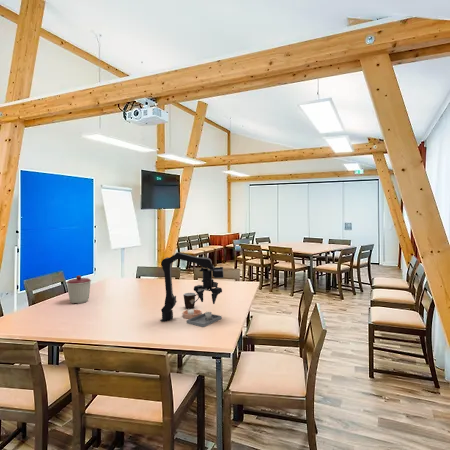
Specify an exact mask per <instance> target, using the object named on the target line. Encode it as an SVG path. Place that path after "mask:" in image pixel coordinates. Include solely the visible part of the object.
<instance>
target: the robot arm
mask: <svg viewBox="0 0 450 450" xmlns="http://www.w3.org/2000/svg"><path fill="white" fill-rule="evenodd" d="M177 260H180V261H186V262H189V263H193V264H196V265H198V266H200V267H201V268H200V269H199V272H202V279H201V283H202V284H197V285H195V286H193V291H194V293H195V294H197V297H198V296H199V300H200V302H201V303H203V302H204V292H205V291H207V292H211V293H210V294H211V301H212V304H213V305H215V303H216V300H217V298H218V295H219V294H221V293H223V289H222V287H220V286H219V287H218V284H219V282H215V281H214V279H224V277H225V276H224V275H225V273H224V271H225V270H224V267H223V266H220V267H219V266H215V265H214V264H213V263H212V262H213V261H212V259H211V258H209V257H201V256H200V257H197V256H195V255H190V254H186V253H183V252H181V251H180V252H179V251H178V252H176V253H175V254H173V255H172V256H169V257H165V258H162V260H161V263H160V264H161V268H162V271H163V273H164V274H163V275H164V283H165V284H164V285H165V300H164V305H163V307H162V308H161V309H160V310H161V319H160V322H164V323H166V322H168V321H172V320H173V319H174V312H173V308H174V307H175V305H176V303H177V302H178V301H177V295H174V293H173V292H174V291H173V281H172V279H173V278H172V268H173V263H175V262H176V261H177ZM213 278H214V279H213Z"/></svg>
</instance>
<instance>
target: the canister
mask: <svg viewBox="0 0 450 450" xmlns="http://www.w3.org/2000/svg"><path fill="white" fill-rule="evenodd" d="M91 282H92V279H90V278H88V277H82V275H80V274H79V275H76V277H75V278H72V279H69V280H68V281H66V282H65V283H66V285H67V293H68V297H69V302H70V303H71V304H74V303H78V304H83V303H87V302H88V301H89V299H90V293H91V292H90V291H91Z"/></svg>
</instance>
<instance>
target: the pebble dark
mask: <svg viewBox="0 0 450 450" xmlns="http://www.w3.org/2000/svg"><path fill="white" fill-rule="evenodd" d="M204 313H205V320H211V319H212V314H213V313H212V311H206V312H204Z"/></svg>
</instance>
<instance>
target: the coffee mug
mask: <svg viewBox="0 0 450 450" xmlns="http://www.w3.org/2000/svg"><path fill="white" fill-rule="evenodd" d="M182 296H183V301H184V302H183V303H184V308H185V309H186V310H190V309H195V304H196V302H198V300H200V298H199V296H198V294H197V293H196V292H186V293H183V295H182ZM196 296H197V298H196Z"/></svg>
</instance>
